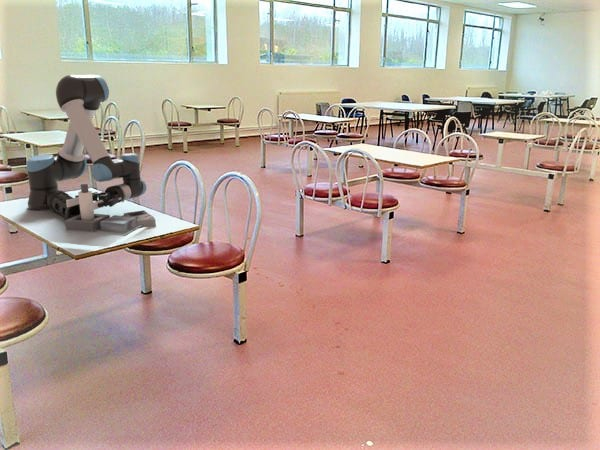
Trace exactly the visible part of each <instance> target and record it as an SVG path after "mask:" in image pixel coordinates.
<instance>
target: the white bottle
mask: <svg viewBox="0 0 600 450" xmlns="http://www.w3.org/2000/svg"><path fill="white" fill-rule="evenodd" d="M92 193H93V191H92V190H89V185H88V183H82V184H80V191H78V192H77V195H78V196H79V205H80V214H81V220H87V221H91V220H93V219H95V218H94V214H95V210H92V211H91V210H90V203H93V202H94V201H93V198H92Z"/></svg>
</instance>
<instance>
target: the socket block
mask: <svg viewBox="0 0 600 450" xmlns="http://www.w3.org/2000/svg"><path fill="white" fill-rule="evenodd" d="M109 217H111V214H104V213H103V214H101V213H94V218H95V219H93V220H91V221H87V220H81V214H79V215H77V216H75V215H74V216H72V217H70V219H68V220H67V219H65V220H64V224H65V229H66V230H70V231H82V232H83V231H84V232H91V233H93V232H96V231H98V230H101V226H100V222H101V221H103V220H105V219H107V218H109Z"/></svg>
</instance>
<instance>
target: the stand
mask: <svg viewBox="0 0 600 450" xmlns="http://www.w3.org/2000/svg"><path fill="white" fill-rule="evenodd" d="M100 226H101V228H100V231H101V232H112V233H122V234H125V233H127V232H128V231H130V230H131V229H134V228H135V227H137V226H138V225H137V217H130V216H124V215H115V214H114V215H110V217H109V218H107V219H105V220H103V221H101V222H100ZM136 230H137V228H135V229H134V230H132V231H130V232H128V233H127V234H125V235H124V237H126V236H127V235H128V236H129V235H130V234H131V233H133V232H134V231H136Z"/></svg>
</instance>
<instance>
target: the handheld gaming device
mask: <svg viewBox="0 0 600 450" xmlns="http://www.w3.org/2000/svg"><path fill="white" fill-rule="evenodd" d="M123 216H130V217H137V226H139V227H138V229H141V228H142V229H143V228H147V227H148V228H149V227H153V226H156V225H157V223H156V218H155V217H154V215H152V214H151V213H149V212H148V211H146V210H144V209H143V210H137V211H131V212H129V211H128V212H124V213H123Z"/></svg>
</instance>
